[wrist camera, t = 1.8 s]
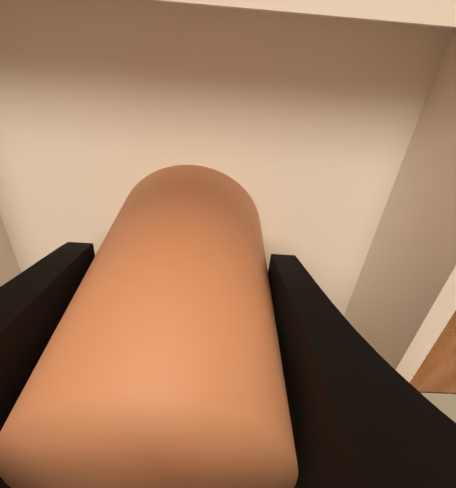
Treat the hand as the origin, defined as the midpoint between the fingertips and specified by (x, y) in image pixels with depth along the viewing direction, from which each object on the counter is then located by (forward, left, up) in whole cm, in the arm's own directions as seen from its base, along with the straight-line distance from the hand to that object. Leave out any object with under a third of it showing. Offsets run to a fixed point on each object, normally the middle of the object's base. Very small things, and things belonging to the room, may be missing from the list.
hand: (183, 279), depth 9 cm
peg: (0, 0, -2) cm, 2 cm away
